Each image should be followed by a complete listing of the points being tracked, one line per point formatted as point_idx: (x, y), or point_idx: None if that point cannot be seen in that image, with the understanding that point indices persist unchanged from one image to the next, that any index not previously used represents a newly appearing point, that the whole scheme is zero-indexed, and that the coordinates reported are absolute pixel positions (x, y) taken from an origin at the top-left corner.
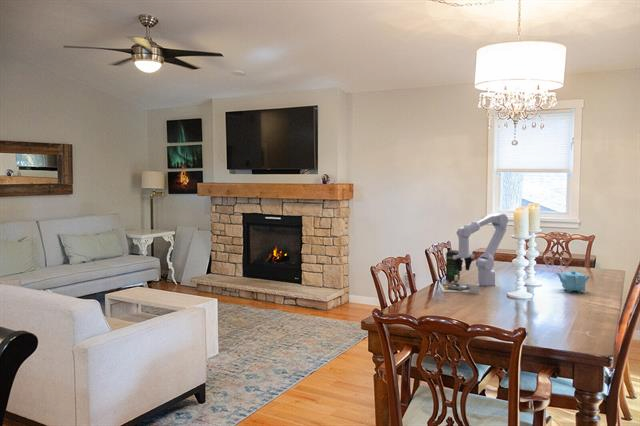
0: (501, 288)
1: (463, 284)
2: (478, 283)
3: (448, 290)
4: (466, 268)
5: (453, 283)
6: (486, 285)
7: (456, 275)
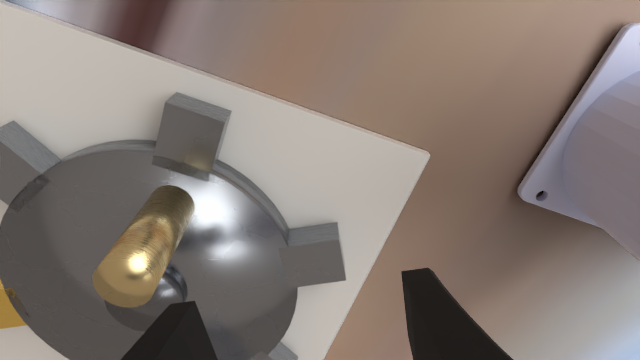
0: (612, 355)
1: (243, 281)
2: (575, 128)
3: (20, 337)
4: (412, 323)
5: (134, 190)
6: (592, 222)
7: (127, 291)
